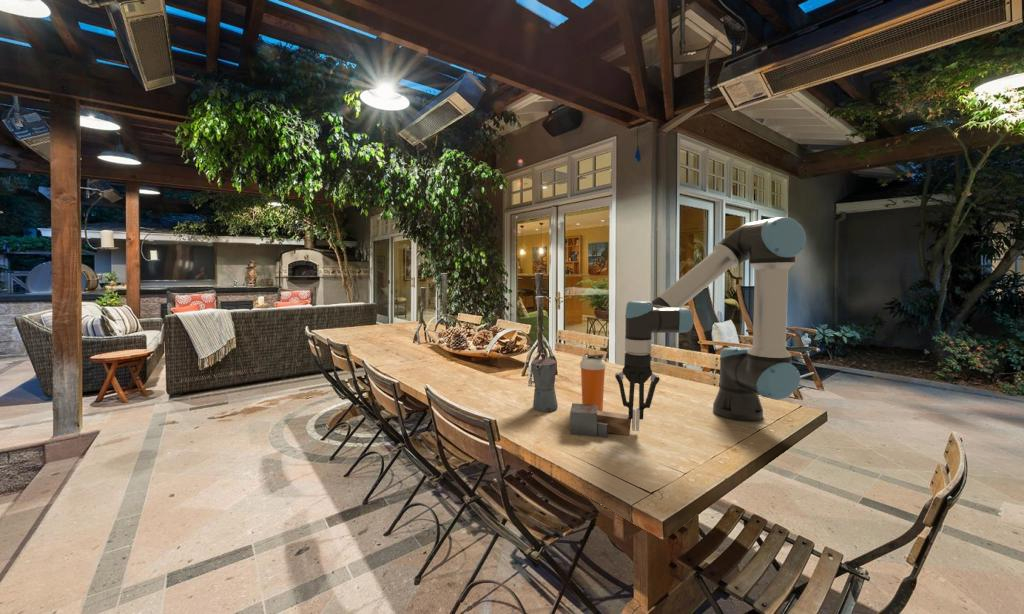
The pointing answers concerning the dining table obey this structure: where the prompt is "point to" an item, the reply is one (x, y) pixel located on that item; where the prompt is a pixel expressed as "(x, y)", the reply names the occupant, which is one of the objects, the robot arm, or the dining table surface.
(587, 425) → the end cap
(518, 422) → the dining table surface
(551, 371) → the moka pot
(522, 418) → the dining table surface
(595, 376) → the shaker bottle
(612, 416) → the brown wooden block
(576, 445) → the dining table surface
